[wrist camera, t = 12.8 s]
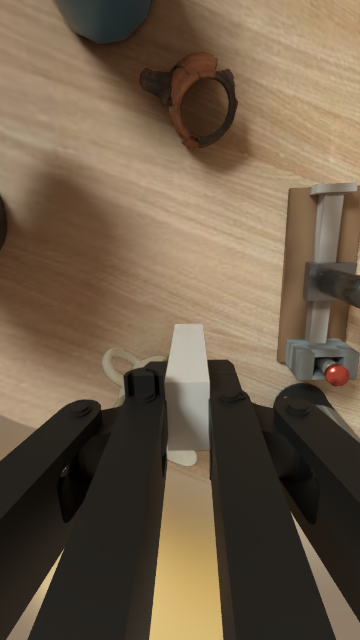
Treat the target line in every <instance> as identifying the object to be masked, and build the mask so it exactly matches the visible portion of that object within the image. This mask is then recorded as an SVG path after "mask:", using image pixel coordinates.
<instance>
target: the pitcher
mask: <svg viewBox="0 0 360 640" xmlns="http://www.w3.org/2000/svg"><path fill="white" fill-rule="evenodd" d="M114 356H116V357H120V358H123V359H125V360H126V361H128V362H130V363H131V364H132V365H133V366H134V367H133V368H132V369H136V368H141V367H144V366H145V365H146V364H147V363H149V362H150V361H168V360H169V357H166V356H152V357H149V358H146V359H144V360H140V359H139V358H138V357H136V356H135V355H133V354H132V353H130V352H129V351H127V350H125V349H122V348H111V349H109V350H108V351H107V352H106V353H105V354H104V356H103V359H102V367H103V370H104V372H105V374H106V375H107V377H108V378H109V379H110V380H111V381H113V382H114V383H116V384H117V385H119V386H121V388H120V391H119V398H118V401H117V402H116V403H115V405H114V407H113V408H115V407H118V406H121V405H123V403H124V400H125V389H124V378H123V375H121V374H120V373H118V372H117V371H116V369H115V368H114V366H113V364H112V357H114ZM132 369H131V370H132ZM197 459H198V458H197V453H196V451H168V443H167V460H169V461H171V462H174V463H176V464H179V465H182V466H186V467H188V466H193V465H194V464H195V463H196V462H197Z"/></svg>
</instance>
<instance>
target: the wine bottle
mask: <svg viewBox="0 0 360 640" xmlns="http://www.w3.org/2000/svg"><path fill="white" fill-rule="evenodd" d="M51 1H52V3H53V4H54V6H55V7H56V8H57V10H58V11H59V13H60V14H61V16H62V17H63V19H64V20H65V21H66V23H67V24H68V26H69V27H70V29H71V30H72V31H74V32H76V33H78V34H80V35H82V36H84V37H86V38H88V39H90V40H92V41H94V42H96V43H99V44H105V43H110V42H116V41H121V40H126V39H127V38H128V37H129V36H130V35H131V34H132V33H133V32H134V31H135V30H136V29H137V28H138V27H139V26H140V25H141V24H142V23H143V22H144V21H145V19H146V17H147V14H148V11H149V8H150V4H151V1H152V0H51Z"/></svg>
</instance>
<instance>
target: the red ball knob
mask: <svg viewBox="0 0 360 640" xmlns="http://www.w3.org/2000/svg"><path fill="white" fill-rule="evenodd" d="M314 364H315V365H316V366H317V367H318V368H319V369H320V370H321V371H322V373H323V374H324V377H325V379H326V380H327V381H328V382H329V383H330V384H331V385H333V386H342V385H344V384H345V383H347V381H348V380H349V377H350V373H349V371H348V370H347V369H346V368H345V367H344V366H343V365H341V364H337V363H336V362H334V361H333V360H332V359H331V358H330V357H315V360H314Z"/></svg>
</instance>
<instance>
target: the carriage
mask: <svg viewBox="0 0 360 640" xmlns="http://www.w3.org/2000/svg"><path fill="white" fill-rule="evenodd" d="M356 266H357V263H354V262H341V261H336V262H328V263H315V262H306V263H305V274H304V285H303V299H304V300H306V301H329V300H341V301H343V302H345V303H348V304H350V305H353V306H355V307H357V308H360V275H356Z"/></svg>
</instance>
